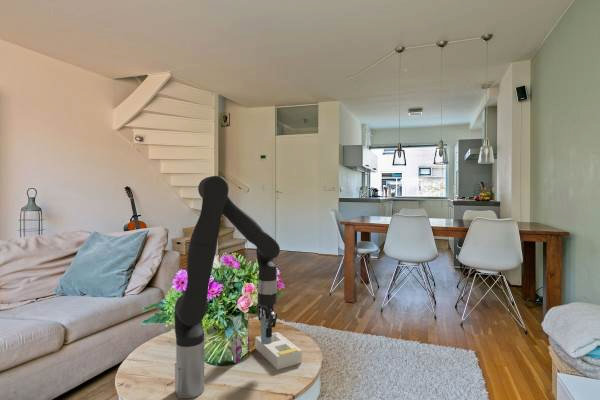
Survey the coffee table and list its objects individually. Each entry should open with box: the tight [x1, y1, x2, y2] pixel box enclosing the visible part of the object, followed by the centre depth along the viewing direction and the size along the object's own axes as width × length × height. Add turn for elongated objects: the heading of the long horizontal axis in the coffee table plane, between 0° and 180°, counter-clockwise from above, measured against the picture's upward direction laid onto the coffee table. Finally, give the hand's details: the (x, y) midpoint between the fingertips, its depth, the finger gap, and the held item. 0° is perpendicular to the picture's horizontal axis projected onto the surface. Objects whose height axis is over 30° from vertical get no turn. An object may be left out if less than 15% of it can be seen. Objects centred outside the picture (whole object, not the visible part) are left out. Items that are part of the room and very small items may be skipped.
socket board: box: [254, 331, 303, 371], centre depth 143 cm, size 11×22×5 cm, turn 30°
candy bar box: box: [232, 314, 250, 364], centre depth 142 cm, size 11×5×16 cm, turn 161°
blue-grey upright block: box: [260, 316, 272, 344], centre depth 131 cm, size 4×4×10 cm
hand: (266, 335), depth 131 cm, fingers closed on blue-grey upright block, 4 cm apart
